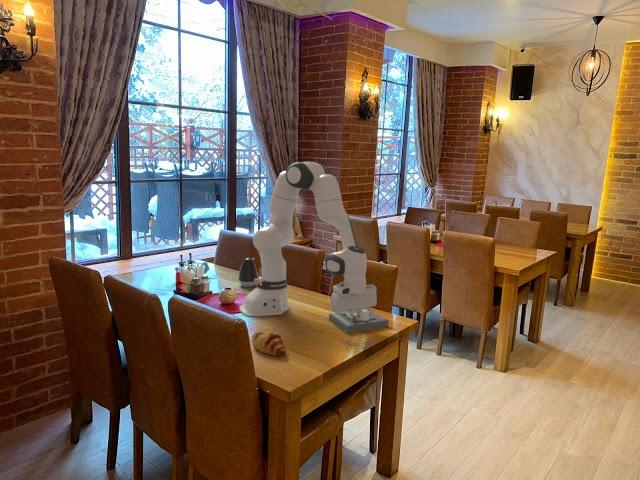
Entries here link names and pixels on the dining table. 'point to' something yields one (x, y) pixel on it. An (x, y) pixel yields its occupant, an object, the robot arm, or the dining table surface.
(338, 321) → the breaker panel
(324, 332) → the dining table surface
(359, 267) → the robot arm
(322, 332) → the dining table surface
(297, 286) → the dining table surface
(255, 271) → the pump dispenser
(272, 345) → the croissant
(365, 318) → the breaker front
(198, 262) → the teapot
